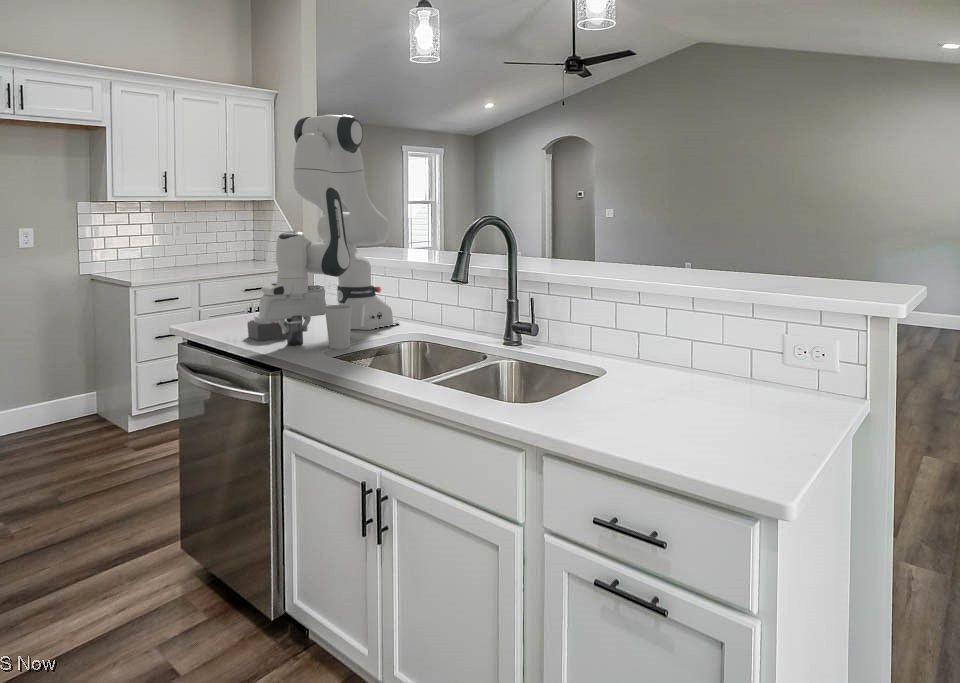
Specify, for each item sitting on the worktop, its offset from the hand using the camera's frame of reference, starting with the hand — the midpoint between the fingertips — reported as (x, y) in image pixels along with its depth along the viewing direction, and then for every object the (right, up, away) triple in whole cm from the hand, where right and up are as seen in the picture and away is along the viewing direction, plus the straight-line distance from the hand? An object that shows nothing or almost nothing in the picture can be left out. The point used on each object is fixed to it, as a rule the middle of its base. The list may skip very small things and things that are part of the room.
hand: (294, 332), depth 210 cm
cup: (+14, -5, -2) cm, 15 cm away
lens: (0, -4, +1) cm, 4 cm away
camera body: (-11, -1, +11) cm, 16 cm away
